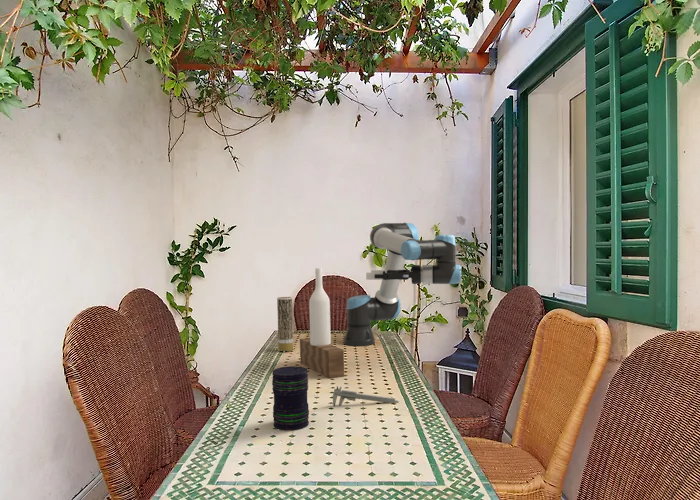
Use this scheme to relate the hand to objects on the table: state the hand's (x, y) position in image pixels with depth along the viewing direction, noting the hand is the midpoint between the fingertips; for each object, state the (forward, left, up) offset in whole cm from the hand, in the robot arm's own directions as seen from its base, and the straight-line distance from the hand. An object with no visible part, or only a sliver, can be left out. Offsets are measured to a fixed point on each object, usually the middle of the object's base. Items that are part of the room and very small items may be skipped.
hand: (368, 274), depth 212 cm
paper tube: (-25, -43, -37) cm, 62 cm away
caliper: (+52, +4, -37) cm, 64 cm away
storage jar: (+72, -14, -37) cm, 82 cm away
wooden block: (+9, -19, -37) cm, 42 cm away
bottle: (+9, -19, -27) cm, 34 cm away
